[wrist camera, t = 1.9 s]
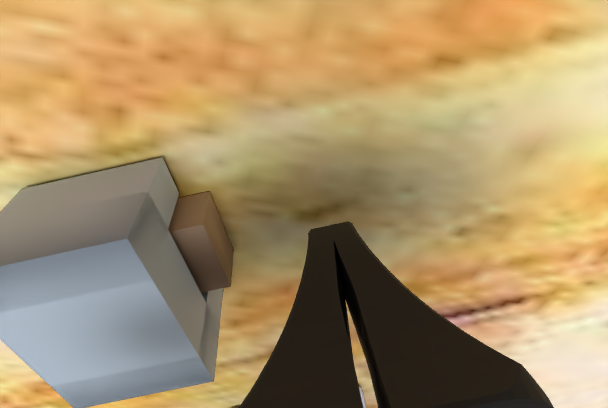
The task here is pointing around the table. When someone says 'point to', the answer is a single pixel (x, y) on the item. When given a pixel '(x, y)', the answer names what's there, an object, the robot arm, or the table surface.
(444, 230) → the table surface
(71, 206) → the slider
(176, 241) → the brown piece
